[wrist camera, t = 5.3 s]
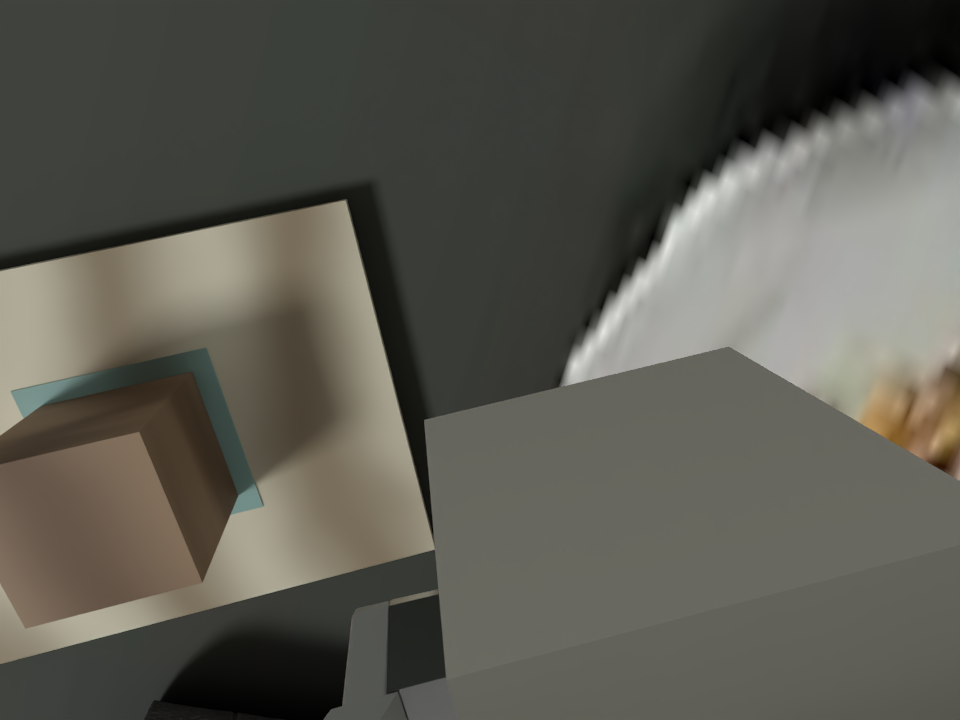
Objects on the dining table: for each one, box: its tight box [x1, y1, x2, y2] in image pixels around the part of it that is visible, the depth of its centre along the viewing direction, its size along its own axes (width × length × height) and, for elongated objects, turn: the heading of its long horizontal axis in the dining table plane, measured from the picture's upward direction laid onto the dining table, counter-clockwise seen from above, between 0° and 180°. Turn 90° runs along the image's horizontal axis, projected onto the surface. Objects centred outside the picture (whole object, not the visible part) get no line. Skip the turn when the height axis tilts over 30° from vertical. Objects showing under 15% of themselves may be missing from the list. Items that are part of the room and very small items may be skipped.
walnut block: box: [0, 372, 238, 629], centre depth 19 cm, size 5×5×5 cm
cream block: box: [424, 347, 960, 720], centre depth 8 cm, size 5×5×5 cm
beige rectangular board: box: [0, 199, 435, 664], centre depth 22 cm, size 18×14×1 cm
